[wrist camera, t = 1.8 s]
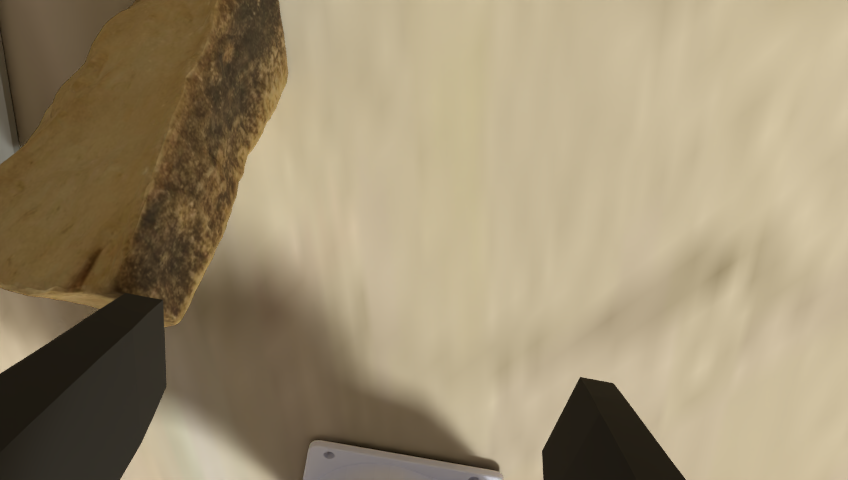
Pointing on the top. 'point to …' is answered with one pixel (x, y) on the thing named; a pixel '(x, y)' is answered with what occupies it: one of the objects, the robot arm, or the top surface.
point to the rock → (142, 154)
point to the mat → (6, 114)
